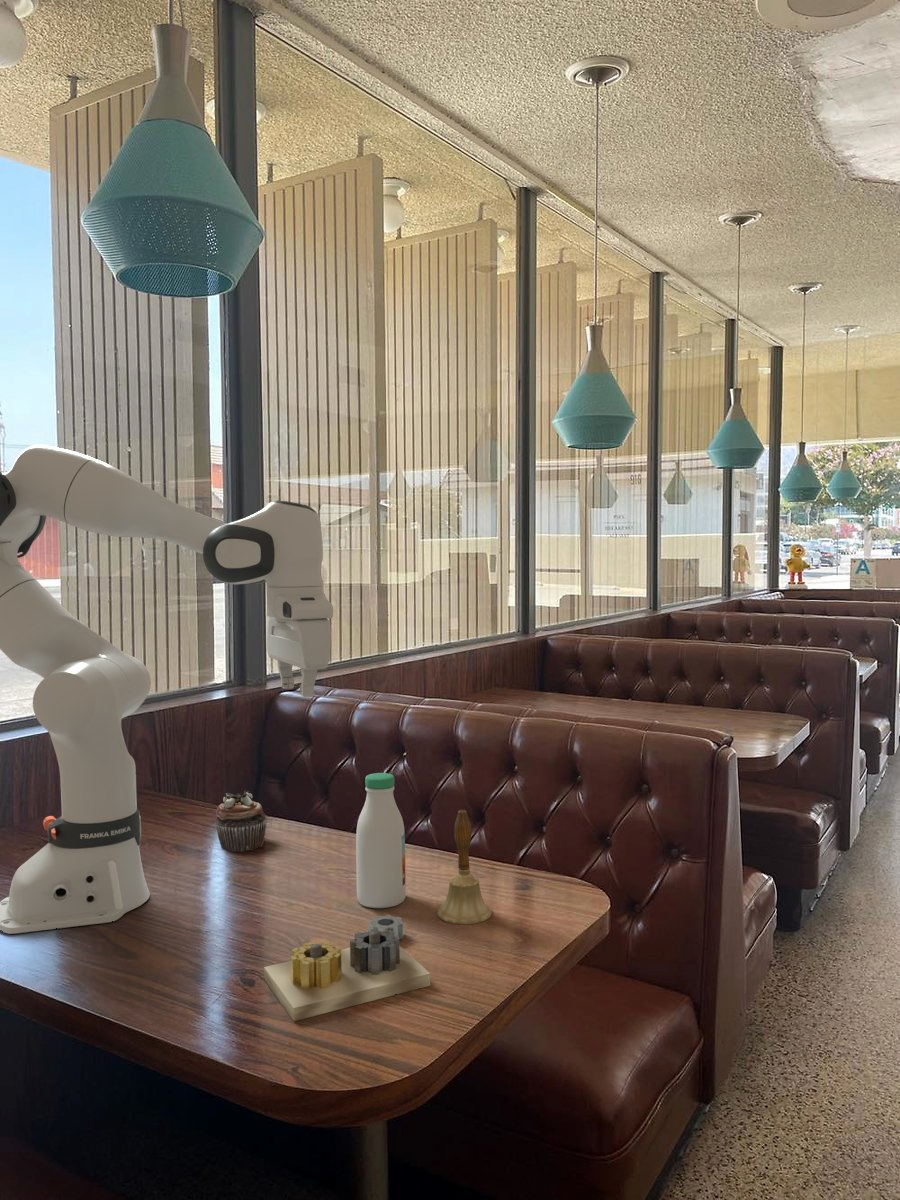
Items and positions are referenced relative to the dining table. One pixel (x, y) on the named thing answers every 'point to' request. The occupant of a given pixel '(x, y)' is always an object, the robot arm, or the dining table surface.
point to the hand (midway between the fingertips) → (297, 692)
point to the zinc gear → (388, 925)
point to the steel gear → (374, 952)
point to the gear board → (344, 984)
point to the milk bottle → (380, 846)
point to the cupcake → (240, 822)
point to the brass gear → (315, 966)
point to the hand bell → (464, 883)
